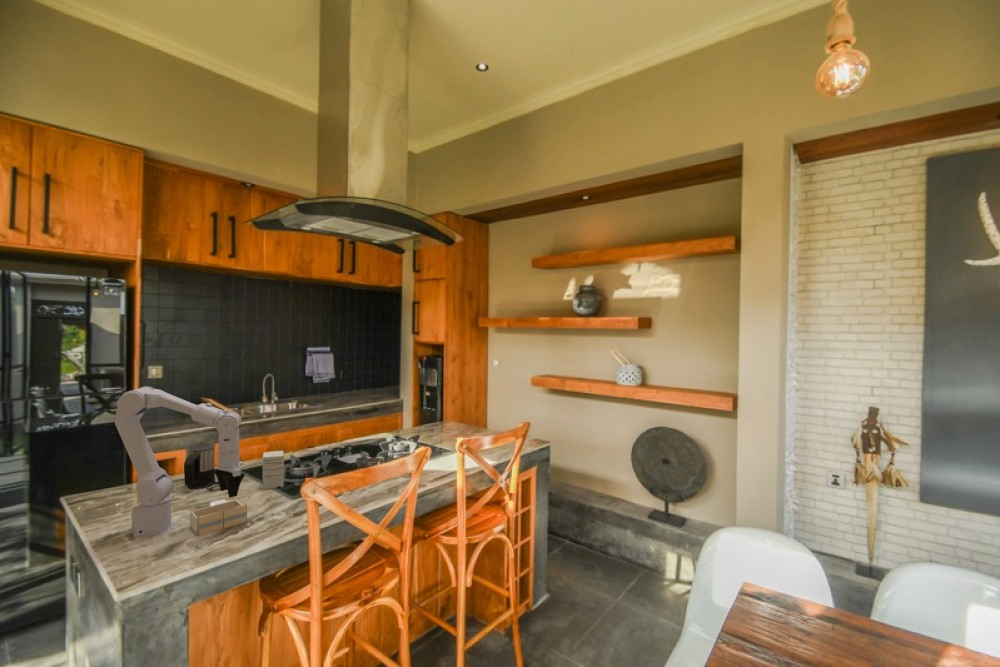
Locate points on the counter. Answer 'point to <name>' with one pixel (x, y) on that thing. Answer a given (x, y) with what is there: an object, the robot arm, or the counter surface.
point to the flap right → (234, 516)
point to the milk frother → (200, 467)
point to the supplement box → (273, 469)
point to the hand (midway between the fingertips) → (228, 493)
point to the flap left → (209, 523)
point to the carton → (210, 511)
